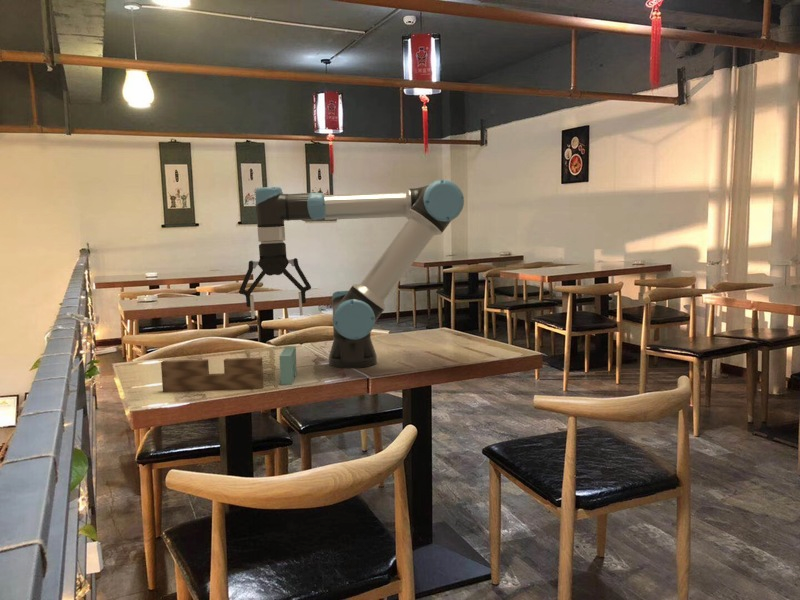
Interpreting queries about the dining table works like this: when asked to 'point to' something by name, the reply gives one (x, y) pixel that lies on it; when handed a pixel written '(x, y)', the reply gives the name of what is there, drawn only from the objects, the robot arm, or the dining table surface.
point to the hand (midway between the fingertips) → (277, 316)
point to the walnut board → (211, 375)
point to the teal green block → (288, 365)
